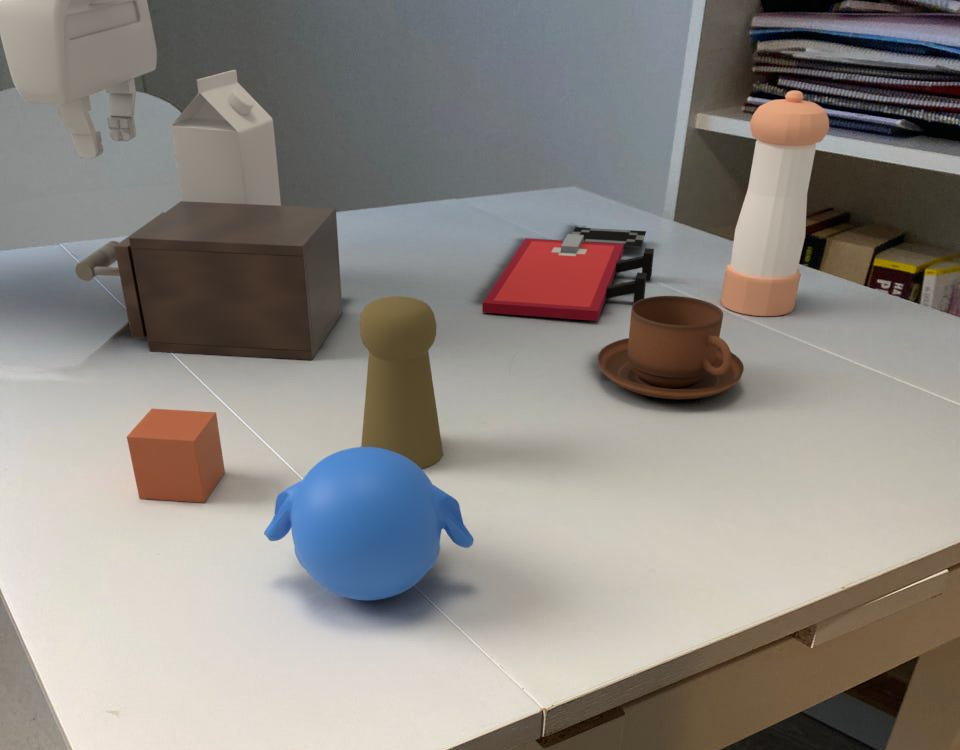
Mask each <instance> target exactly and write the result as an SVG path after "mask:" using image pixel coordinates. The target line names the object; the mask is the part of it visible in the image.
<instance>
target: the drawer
mask: <svg viewBox="0 0 960 750" xmlns="http://www.w3.org/2000/svg"><path fill="white" fill-rule="evenodd" d="M164 213H165V212H164V211H163V212H161V213H159V214H158V215H156V216H155V217H154V218H153V219H151V220H150V221H147V223H146V224H143V225H142V226H141V227H140V228H138V229H137V230H136V231H134V232H133V233H131V234H130V235H129V236H127V237H126V238H124V239H123V240H121V241H120V242H118V241H116V240H110V241H108V242H107V243H105V244H104V245H103V246H101V247H100V248H98V249H97V250H95V251H93V252H92V253H91V254H89V255H88V256H87V257H85V258H83V259H82V260H81V261H79V262H77V264H76V265H75V267H74V272H75V275H76V276H77V277H78V278H79V279H80V280H82V281H84V282H89V281H91V280H92V279H94V278H95V277H96V276H109V277H119V279H120V285H121V289H122V294H123V299H124V304H125V309H126V315H127V321H128V325H129V330H130V337H131V338H132V339H146V338H147V333H146V327H145V322H144V316H143V311H142V305H141V300H140V295H139V289H138V284H137V278H136V273H135V267H134V262H133V256H132V251H131V246H130V241H129V238H130V237H131V236H133V235H134V234H136V233H137V232H138V231H140V230H141V229H143V228H144V227H145V226H147V225H148V224H150V223H151V222H153V221H154V220H155V219H157V218H158V217H160V216H161V215H162V214H164ZM115 262H116V263H117V266H116V267H114V266H111V265H113V264H114V263H115Z"/></svg>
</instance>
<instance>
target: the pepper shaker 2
mask: <svg viewBox="0 0 960 750" xmlns="http://www.w3.org/2000/svg"><path fill="white" fill-rule="evenodd" d="M804 98H805V96H804V94H803V92H802V91H800V90H789V91H787V93H786V94H785V95H784V98H783V99H772V100H770V101H768V102H766V103H763V104H761V105H759V106H758V107H757V109H756V110H755V111H754V113H753V114H752V116H751V119H750V121H749V128H750V133H751V136H752V138H754V139H756V141H755V143H754V144H755V146H754V151H753V156H752V163H751V168H750V169H751V170H750V173H749V174H750V175H749V181H748V185H747V191H746V193H745V197H744V200H743V203H742V206H741V209H740V213H739V216H738V219H737V222H736V225H735V229H734V234H733V235H734V236H733V242H732V251H731V258H730V262H729V263H728V264H727V265H726V266H725V271H724V278H723V285H722V288H721V289H722V290H721V295H720V296H721V297H720V304H721V305H722V306H723V307H724V308H726V309H728V310H729V311H732V312H735V313H739V314H743V315H749V316H756V317H778V316H783V315H787V314H789V313H791V312H792V311H793V310H795V306H796V300H797V296H798V290H799V285H800V281H801V276H802V275H801V271H800V269H799V264H800V262H801V261H800V260H801V256H802V253H803V252H802V251H803V248H804V243H805V239H806V230H807V229H806V228H807V209H808V208H807V205H808V192H809V186H810V181H811V175H812V171H813V166H814V165H813V164H814V159H815V155H816V150H817V144H818V143H821V142H822V141H824V138H825V137H826V135H827V134H828V132H829V130H830V118H829V116H828V114H827V111H826V109H824V108H823V107H822V106H821V105H819V104H817V103H816V102H813V101H810V100H803V99H804Z"/></svg>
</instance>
